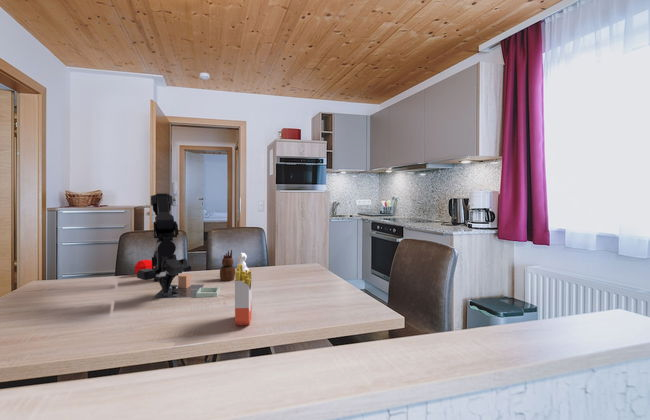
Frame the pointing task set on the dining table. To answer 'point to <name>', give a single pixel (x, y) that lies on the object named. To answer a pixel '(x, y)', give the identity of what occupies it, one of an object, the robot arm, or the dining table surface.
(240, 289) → the french fries container
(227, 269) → the wooden figurine
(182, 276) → the block
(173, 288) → the crank
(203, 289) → the tray
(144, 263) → the red piece
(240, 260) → the sitting furry creature
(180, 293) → the base plate
